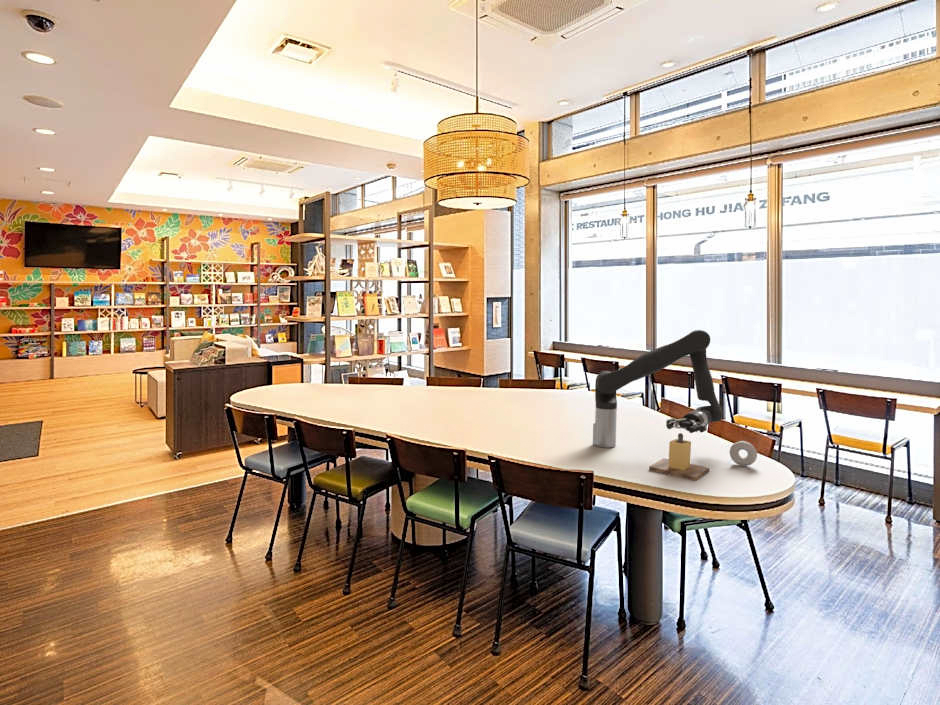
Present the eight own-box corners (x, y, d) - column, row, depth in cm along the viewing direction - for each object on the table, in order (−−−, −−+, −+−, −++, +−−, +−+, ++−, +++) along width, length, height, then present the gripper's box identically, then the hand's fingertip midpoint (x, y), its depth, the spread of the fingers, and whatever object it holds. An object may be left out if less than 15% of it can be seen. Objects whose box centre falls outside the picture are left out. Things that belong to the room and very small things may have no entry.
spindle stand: (648, 470, 217) (650, 432, 215) (663, 461, 227) (665, 425, 226) (695, 480, 205) (697, 441, 203) (709, 471, 215) (711, 433, 214)
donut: (757, 467, 221) (758, 442, 220) (755, 469, 218) (757, 444, 217) (729, 462, 227) (731, 438, 226) (727, 464, 224) (729, 440, 223)
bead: (668, 467, 216) (669, 441, 215) (674, 463, 220) (675, 438, 219) (683, 470, 212) (685, 444, 211) (689, 466, 216) (691, 441, 215)
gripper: (677, 409, 229) (661, 416, 217) (713, 414, 220) (698, 421, 208) (677, 427, 230) (660, 434, 218) (712, 433, 221) (697, 441, 209)
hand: (679, 428), depth 213 cm, fingers open, 8 cm apart
